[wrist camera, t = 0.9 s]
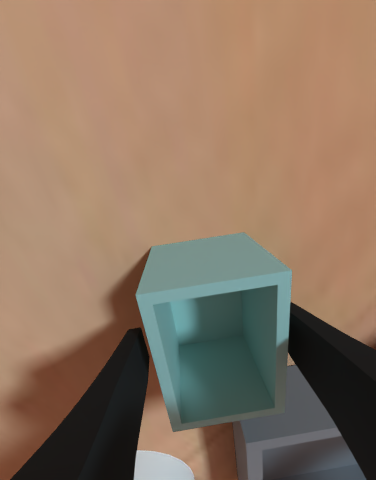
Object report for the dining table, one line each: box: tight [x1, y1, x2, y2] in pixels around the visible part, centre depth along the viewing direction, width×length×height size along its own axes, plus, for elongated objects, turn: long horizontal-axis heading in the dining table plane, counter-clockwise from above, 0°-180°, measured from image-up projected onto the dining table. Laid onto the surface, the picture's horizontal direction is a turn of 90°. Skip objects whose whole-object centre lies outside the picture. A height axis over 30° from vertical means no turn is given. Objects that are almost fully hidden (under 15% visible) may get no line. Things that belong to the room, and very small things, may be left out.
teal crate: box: [136, 232, 292, 432], centre depth 10 cm, size 6×8×5 cm
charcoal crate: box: [232, 365, 366, 480], centre depth 16 cm, size 16×16×4 cm
